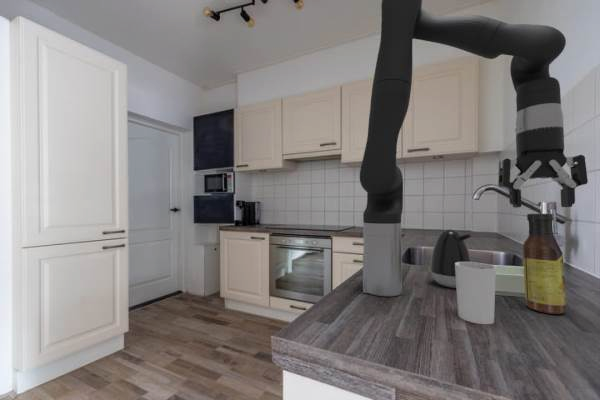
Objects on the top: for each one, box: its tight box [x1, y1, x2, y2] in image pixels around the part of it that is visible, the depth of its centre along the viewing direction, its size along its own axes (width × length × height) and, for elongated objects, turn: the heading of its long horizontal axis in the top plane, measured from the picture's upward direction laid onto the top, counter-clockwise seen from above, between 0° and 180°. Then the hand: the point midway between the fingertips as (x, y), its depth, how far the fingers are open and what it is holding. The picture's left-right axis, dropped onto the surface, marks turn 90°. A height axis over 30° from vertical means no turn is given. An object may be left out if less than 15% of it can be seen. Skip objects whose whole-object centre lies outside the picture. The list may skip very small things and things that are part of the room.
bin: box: [492, 264, 525, 298], centre depth 69 cm, size 12×12×5 cm
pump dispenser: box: [429, 228, 473, 289], centre depth 73 cm, size 10×10×15 cm
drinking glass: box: [455, 261, 496, 325], centre depth 52 cm, size 7×7×10 cm
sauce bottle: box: [522, 213, 567, 315], centre depth 56 cm, size 7×6×20 cm
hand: (541, 207), depth 56 cm, fingers open, 8 cm apart
